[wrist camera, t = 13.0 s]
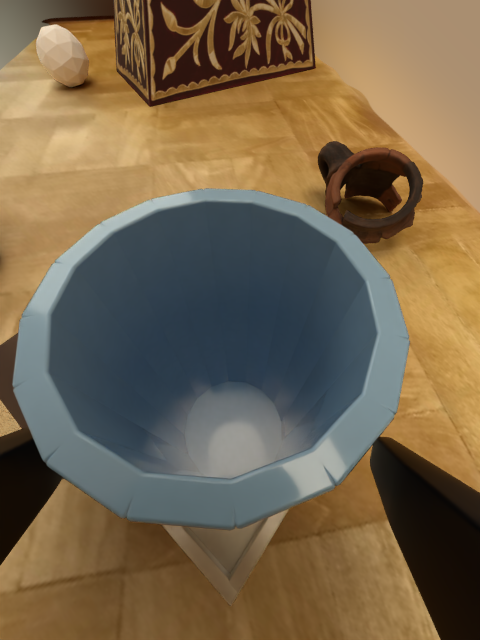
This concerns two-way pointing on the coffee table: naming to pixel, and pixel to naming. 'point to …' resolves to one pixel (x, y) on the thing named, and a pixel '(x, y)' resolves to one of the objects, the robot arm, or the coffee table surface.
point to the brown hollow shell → (369, 187)
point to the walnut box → (198, 543)
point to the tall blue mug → (210, 358)
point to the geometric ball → (62, 55)
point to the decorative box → (209, 44)
